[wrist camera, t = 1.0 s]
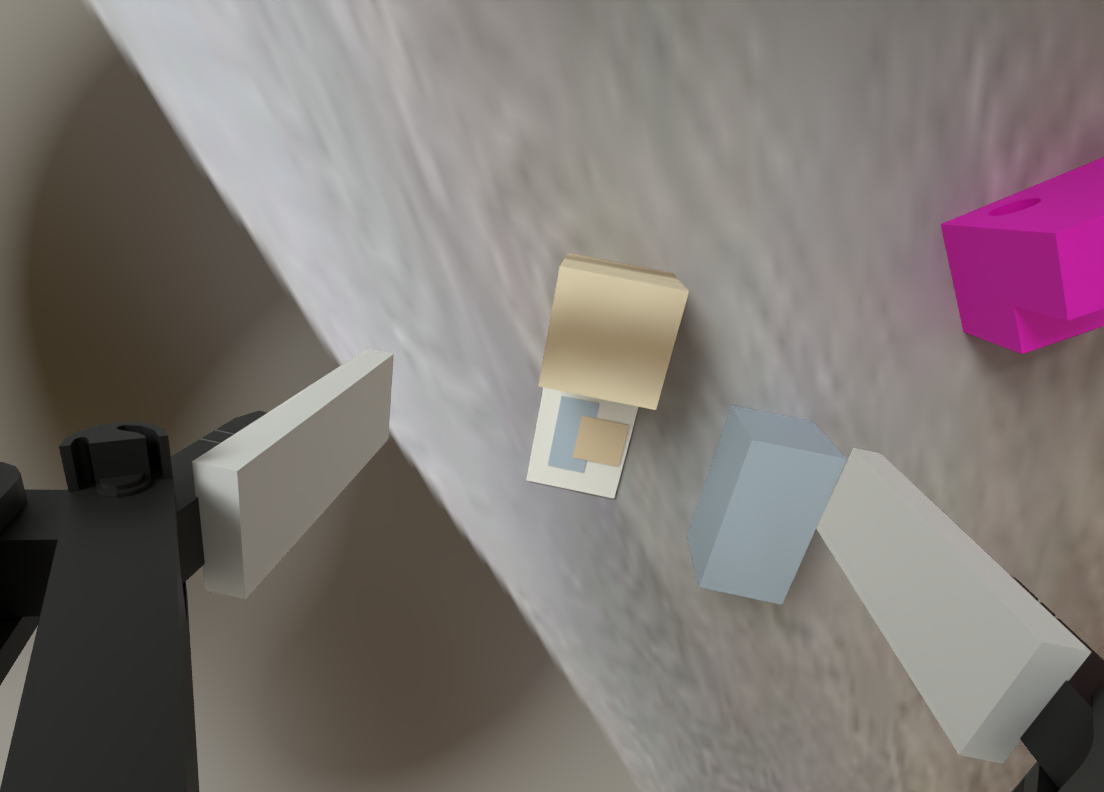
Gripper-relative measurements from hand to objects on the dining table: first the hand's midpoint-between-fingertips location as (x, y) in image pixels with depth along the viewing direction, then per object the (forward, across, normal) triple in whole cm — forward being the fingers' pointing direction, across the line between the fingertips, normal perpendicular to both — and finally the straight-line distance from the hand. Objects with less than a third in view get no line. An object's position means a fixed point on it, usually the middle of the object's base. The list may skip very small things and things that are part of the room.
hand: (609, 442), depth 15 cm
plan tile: (+16, 0, -8) cm, 18 cm away
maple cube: (+17, 0, 0) cm, 17 cm away
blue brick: (+17, +11, -9) cm, 22 cm away
